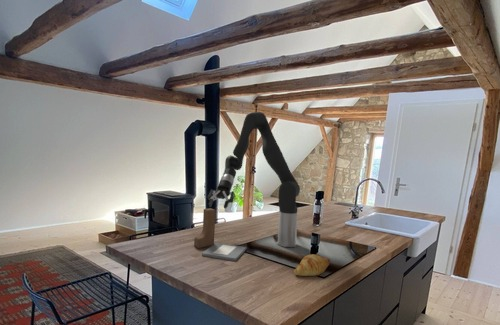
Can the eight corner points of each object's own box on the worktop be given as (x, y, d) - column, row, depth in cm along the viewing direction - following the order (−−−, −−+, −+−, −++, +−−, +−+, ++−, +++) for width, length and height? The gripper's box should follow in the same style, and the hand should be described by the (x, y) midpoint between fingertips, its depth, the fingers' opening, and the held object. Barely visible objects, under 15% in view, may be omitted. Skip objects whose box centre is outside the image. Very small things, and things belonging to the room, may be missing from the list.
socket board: (246, 249, 139) (246, 246, 139) (235, 261, 124) (235, 257, 123) (216, 245, 143) (216, 242, 143) (201, 255, 128) (202, 252, 128)
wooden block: (198, 248, 137) (199, 211, 137) (193, 245, 141) (195, 209, 140) (214, 245, 143) (215, 209, 142) (209, 242, 146) (211, 208, 146)
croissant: (299, 288, 109) (308, 274, 106) (283, 268, 115) (290, 254, 112) (332, 274, 122) (341, 260, 119) (316, 256, 129) (323, 243, 126)
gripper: (212, 178, 162) (203, 201, 152) (236, 180, 158) (228, 204, 148) (216, 186, 168) (206, 209, 157) (239, 188, 164) (231, 212, 153)
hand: (217, 206), depth 153 cm, fingers open, 8 cm apart
